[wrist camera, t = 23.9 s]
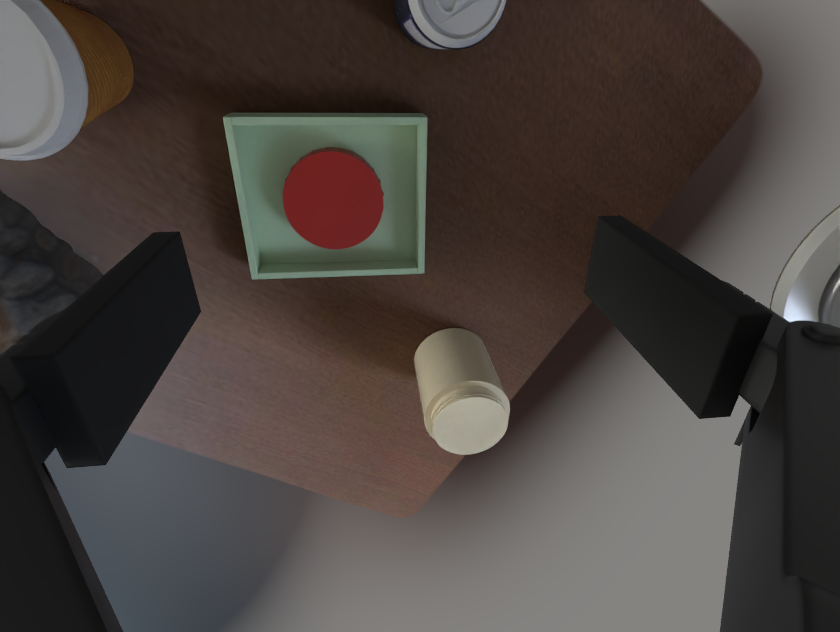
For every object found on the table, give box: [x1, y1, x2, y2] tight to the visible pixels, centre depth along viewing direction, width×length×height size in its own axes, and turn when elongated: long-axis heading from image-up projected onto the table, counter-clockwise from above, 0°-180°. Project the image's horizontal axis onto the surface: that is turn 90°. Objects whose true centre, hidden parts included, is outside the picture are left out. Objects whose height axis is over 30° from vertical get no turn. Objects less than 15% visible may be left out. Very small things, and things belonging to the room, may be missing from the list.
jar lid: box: [282, 147, 384, 249], centre depth 40 cm, size 8×8×2 cm
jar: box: [414, 328, 510, 455], centre depth 46 cm, size 8×8×10 cm
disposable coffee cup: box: [0, 0, 134, 160], centre depth 29 cm, size 10×10×12 cm
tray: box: [223, 113, 427, 279], centre depth 40 cm, size 15×13×2 cm
